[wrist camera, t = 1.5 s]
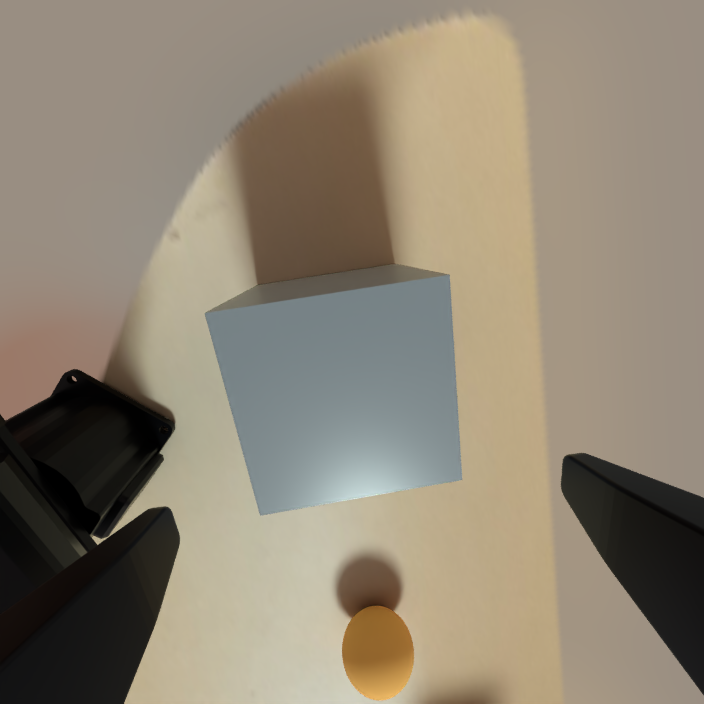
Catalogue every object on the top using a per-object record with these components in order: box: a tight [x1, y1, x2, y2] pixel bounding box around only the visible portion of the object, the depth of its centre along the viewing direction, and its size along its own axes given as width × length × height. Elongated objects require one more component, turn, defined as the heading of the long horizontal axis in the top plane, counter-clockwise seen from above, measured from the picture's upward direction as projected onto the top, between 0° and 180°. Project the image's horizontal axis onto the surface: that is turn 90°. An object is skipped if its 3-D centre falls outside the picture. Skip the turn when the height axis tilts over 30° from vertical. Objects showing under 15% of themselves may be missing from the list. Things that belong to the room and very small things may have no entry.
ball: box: [342, 606, 414, 700], centre depth 24 cm, size 5×5×5 cm
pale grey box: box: [205, 264, 462, 515], centre depth 16 cm, size 8×8×9 cm
